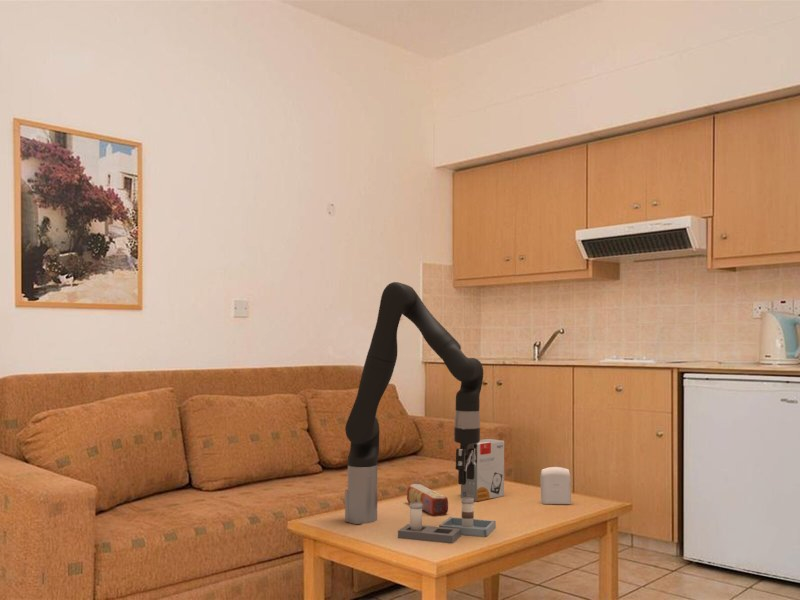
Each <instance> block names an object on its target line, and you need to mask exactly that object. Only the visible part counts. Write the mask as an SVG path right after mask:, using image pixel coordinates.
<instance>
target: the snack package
mask: <svg viewBox="0 0 800 600" xmlns="http://www.w3.org/2000/svg"><path fill="white" fill-rule="evenodd" d="M406 501H407V502H408V503H409V504H410V503H412V502H420V503H422V511H425V512H426V513H428V514H430V515H431V516H433V517H439V516H445V515H447V513H448V511H449V499H448V497H447V496H445V495H443V494H440V493H438V492H437V491H434V490H433V489H430V488H428V487H426V486H425V485H423V484H422V483H421V484H419V483H413V484H410V485H409V486H408V487H407V489H406Z"/></svg>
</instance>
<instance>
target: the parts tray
mask: <svg viewBox="0 0 800 600" xmlns="http://www.w3.org/2000/svg"><path fill="white" fill-rule="evenodd" d="M496 526H497V525H496V520H490V519H489V520H487V519H476V518H475V519H474V528H468V527H462V517H453V516H450V517H448V518H447V519H446V520H444V521H443V522H442V523H440V524H439V525H438V527H445V528H456V529H461V536H472V537H480V538H487V537H488V536H489V535H490V534H491V533H493V531H494V530H495V529H496V528H497V527H496Z"/></svg>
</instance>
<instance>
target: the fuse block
mask: <svg viewBox="0 0 800 600" xmlns="http://www.w3.org/2000/svg"><path fill="white" fill-rule="evenodd" d="M461 536H462V535H461V529H456V528H445V527H439V526H432V525H423V524H422V531H414V530H410V523H407V524H405V525H404V526H402V527H401V528H400V529H398V530H397V539H406V540H413V541H414V540H415V541H423V542H424V541H425V542H434V543H442V544H443V543H444V544H454V543H455V542H456V541H458V539H460V538H461Z"/></svg>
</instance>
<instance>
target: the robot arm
mask: <svg viewBox="0 0 800 600" xmlns="http://www.w3.org/2000/svg"><path fill="white" fill-rule="evenodd" d="M379 301H380V302H379V308H378V312H377V313H378V314H377V318H376V324H375V326H374V330H373V334H372V338H371V341H370V344H369V345H370V346H369V348H368V351H367V355H366V358H365V360H364V361H365V362H364V365H363V369H362V373H361V376H360V377H361V378H360V381H359V385H358V389H357V394H356V397H355V400H354V403H353V405H352V408H351V411H350V413H349V416H348V418H347V420H346V423H345V428H344V429H345V435H346V437H347V440H348V441H350V448H349V452H348V456H347V489H346V490H345V492H344V507H345V508H344V522H347V523H350V524H354V525H363V524H371V523H375V522H377V521H378V459H379V454H380V453H379V452H380V424H379V420H378V419H377V417H376V416H377V412H378V407H379V403H380V402H381V399H382V397H383V395H384V393H385V392H386V390H387V387H388V385H389V384H390V381H391V379H392V377H393V374H394V371H395V367H396V363H397V359H398V329H399V324H400V322H401V321H400V320H401V318H402V315H403V316H404V317H405V318H407V319H408V320H409V321H411V322H412V323H413V324H414V325H415V327H416V328H417V329H418V331H419V332H420V334H421V335H422V336H423V337H422V338H423V339H424V341H425V342H426V343H427V344H428V346H429V347H430V349H432V350H433V351H434V352H435V353H436V354H437V356H438V357H440V359H441V360H442V361H443V363H444V365H445V366H446V368H447V369H448V371H449V373H450V374H451V375H452V376H453V377H454V378H455V379H456V380H457V381H459V382H460V383H461V384H460V389H459V390H458V391H457V392H456V394H455V414H454V425H453V426H454V429H453V430H454V431H453V432H454V433H453V435H454V436H453V437H454V438H453V440H454V442H455V443H457V444H459V448H456V449H455V470H457V471H458V478H457V479H458V481H457V482H458V484H459V485H460V486H461V485H465V484H466V473H467V479H472V480H473V479H474V473H475V467H474V466H475V465H476V463H477V443H479V442H480V440H481V415H480V404H481V403H480V400H481V399H480V395H481V394H480V393H481V391H482V386H483V385H482V384H483V381H484V367H483V364H482V363H481V361H480V360H479V359H477V358H475V357H467V356H466V355H465V354H464V352H463V351H462V346H461V344H460V343H459V342H458V341H457V340H456V338H454V336H453V335H452V334H451V333H450V332H449V331H448V330H447V329H446V328H445V326H443V325H442V324H441V323H440V322H439V321H438V320H437V319H436V318H435V316H433V314H432V313H431V312H430V311H429V309H428V308H427V306H426V305H425V303H424V302H423V301H422V299H421V298H420V295H418V293H417V291H415V289H414V288H413V286H410V285H409V284H405V283H402V282H399V281H398V282H396V281H393V282H391V283H390V282H389V284H387V285H386V287H385V288H384V289H383V291H382V294H381V296H380V300H379ZM472 456H473V457H472ZM461 465H462V466H461Z"/></svg>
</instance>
